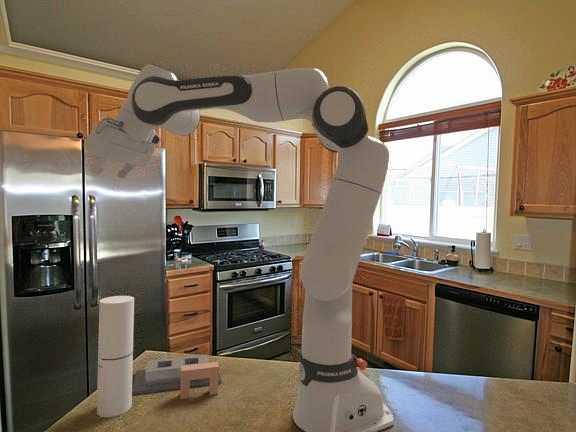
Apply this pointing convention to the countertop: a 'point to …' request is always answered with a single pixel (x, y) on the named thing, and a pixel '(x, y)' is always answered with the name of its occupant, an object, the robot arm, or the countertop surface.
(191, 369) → the clip
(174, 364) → the grey slotted holder
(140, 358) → the countertop surface
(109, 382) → the cylindrical container
